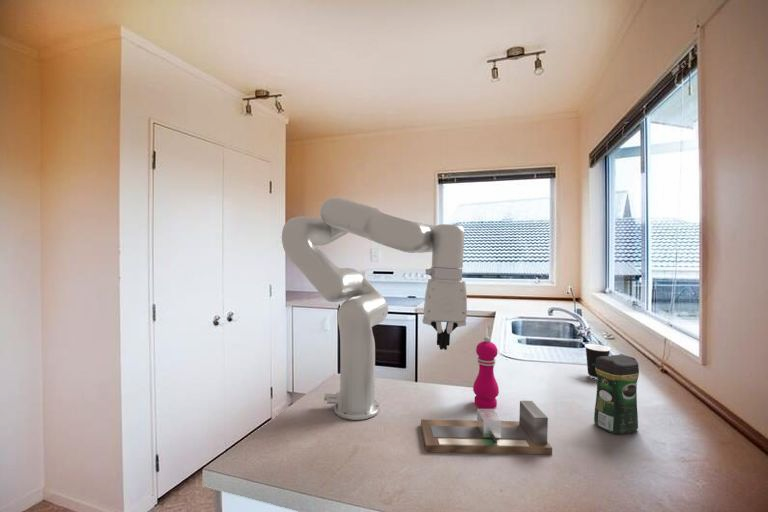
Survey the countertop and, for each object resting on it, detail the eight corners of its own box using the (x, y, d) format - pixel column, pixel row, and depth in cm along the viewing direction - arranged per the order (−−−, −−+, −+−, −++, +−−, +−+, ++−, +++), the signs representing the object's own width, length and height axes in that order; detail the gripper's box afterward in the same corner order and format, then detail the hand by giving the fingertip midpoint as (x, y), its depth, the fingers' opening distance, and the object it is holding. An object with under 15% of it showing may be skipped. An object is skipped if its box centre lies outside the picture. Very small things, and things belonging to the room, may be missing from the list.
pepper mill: (499, 411, 102) (501, 340, 101) (473, 408, 103) (474, 338, 102) (497, 400, 109) (498, 334, 108) (472, 398, 110) (473, 332, 110)
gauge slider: (486, 444, 81) (487, 426, 81) (476, 424, 90) (477, 408, 90) (504, 444, 81) (505, 426, 81) (493, 425, 90) (493, 409, 90)
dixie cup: (597, 373, 134) (598, 343, 134) (615, 381, 126) (616, 349, 126) (578, 374, 132) (579, 344, 132) (595, 382, 125) (596, 350, 124)
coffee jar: (614, 417, 99) (617, 350, 98) (643, 432, 91) (646, 358, 91) (587, 422, 96) (589, 352, 95) (614, 437, 88) (617, 362, 88)
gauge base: (426, 451, 81) (426, 418, 81) (420, 425, 93) (421, 396, 93) (552, 454, 81) (553, 421, 81) (530, 427, 93) (531, 398, 93)
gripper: (416, 274, 86) (413, 351, 87) (480, 277, 86) (476, 354, 86) (415, 272, 94) (412, 342, 95) (474, 274, 93) (470, 345, 94)
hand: (442, 348), depth 90 cm, fingers closed
